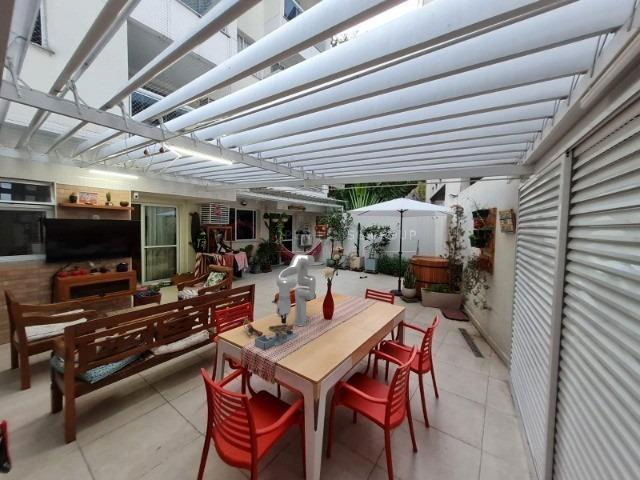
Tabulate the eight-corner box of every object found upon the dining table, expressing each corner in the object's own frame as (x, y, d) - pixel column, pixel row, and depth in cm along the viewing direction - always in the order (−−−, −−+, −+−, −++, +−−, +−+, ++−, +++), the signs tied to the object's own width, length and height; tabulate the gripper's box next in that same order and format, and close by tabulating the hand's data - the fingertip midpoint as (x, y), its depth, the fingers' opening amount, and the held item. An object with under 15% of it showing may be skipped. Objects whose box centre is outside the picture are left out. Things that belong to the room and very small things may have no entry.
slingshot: (259, 328, 206) (266, 329, 194) (252, 340, 201) (259, 341, 189) (243, 317, 201) (249, 317, 189) (235, 328, 196) (241, 329, 184)
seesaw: (287, 327, 199) (287, 323, 200) (301, 333, 190) (302, 328, 190) (268, 329, 184) (268, 325, 184) (282, 336, 174) (283, 331, 175)
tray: (264, 340, 185) (265, 334, 184) (274, 345, 178) (274, 338, 178) (254, 345, 178) (254, 338, 177) (264, 350, 171) (264, 343, 171)
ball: (288, 326, 198) (289, 322, 198) (291, 328, 196) (292, 323, 196) (284, 326, 195) (285, 322, 195) (288, 328, 193) (289, 323, 193)
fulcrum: (286, 331, 201) (286, 321, 201) (297, 336, 194) (297, 325, 193) (265, 340, 185) (265, 329, 184) (276, 346, 177) (276, 334, 177)
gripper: (288, 294, 184) (287, 319, 185) (272, 298, 172) (272, 324, 173) (295, 296, 179) (294, 321, 180) (280, 301, 168) (279, 327, 169)
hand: (283, 323), depth 177 cm, fingers closed
